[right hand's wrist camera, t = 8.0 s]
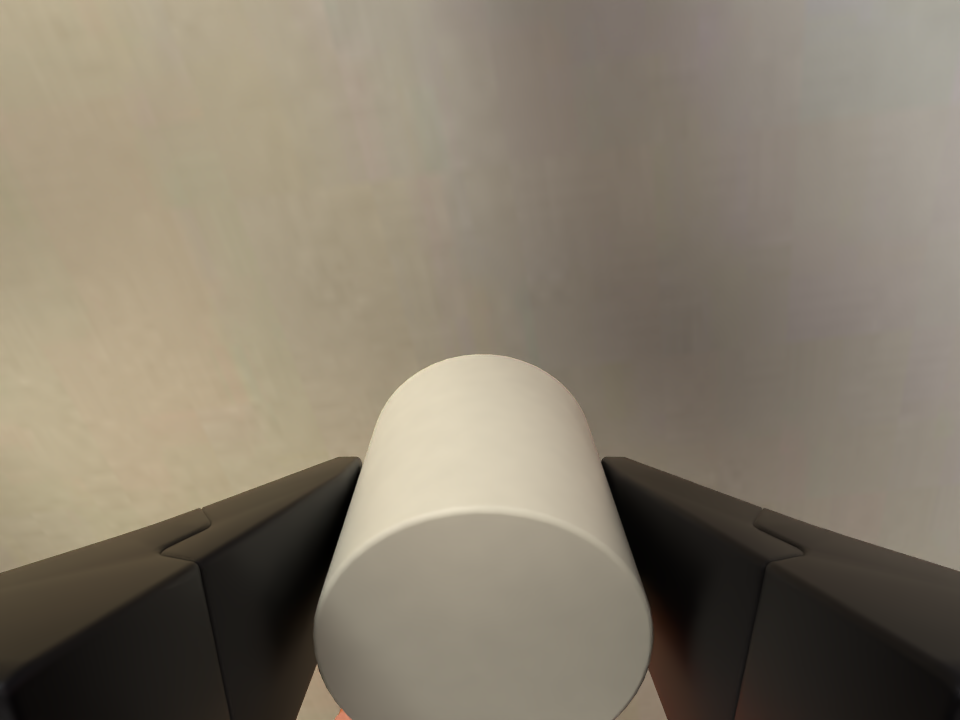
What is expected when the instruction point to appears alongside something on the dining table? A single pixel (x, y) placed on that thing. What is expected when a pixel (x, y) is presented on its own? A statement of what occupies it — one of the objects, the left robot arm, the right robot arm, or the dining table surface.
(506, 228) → the dining table surface
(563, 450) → the canister
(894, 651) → the right robot arm
